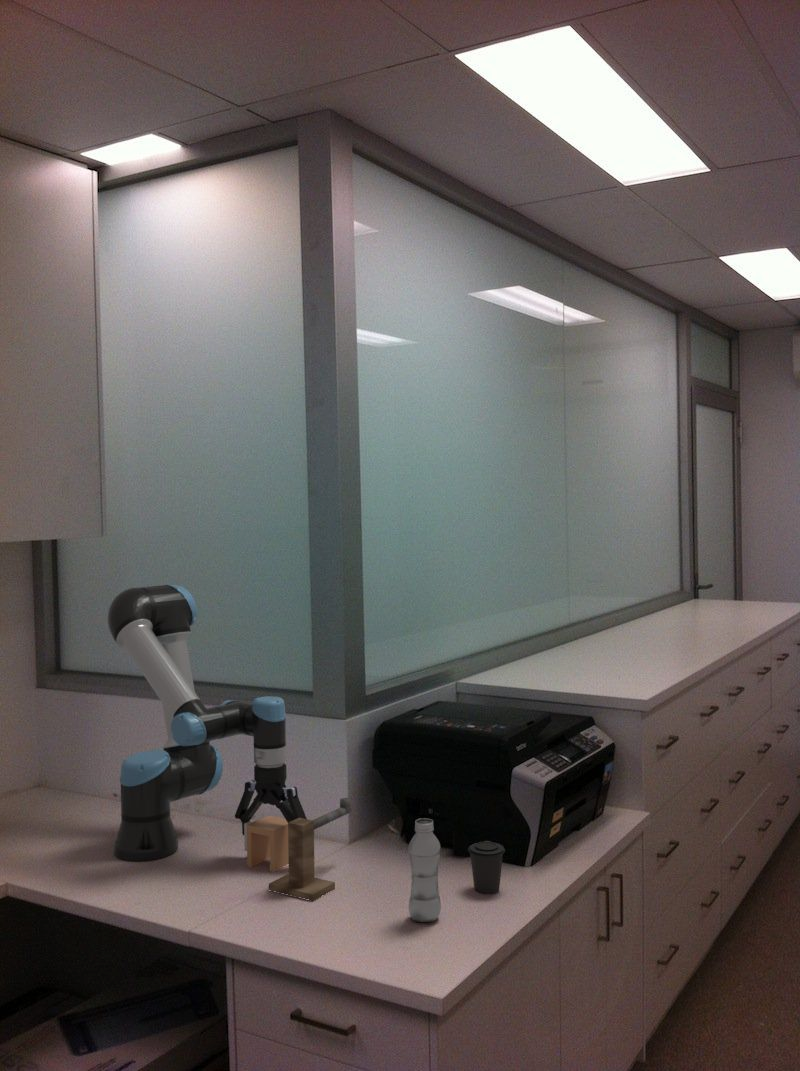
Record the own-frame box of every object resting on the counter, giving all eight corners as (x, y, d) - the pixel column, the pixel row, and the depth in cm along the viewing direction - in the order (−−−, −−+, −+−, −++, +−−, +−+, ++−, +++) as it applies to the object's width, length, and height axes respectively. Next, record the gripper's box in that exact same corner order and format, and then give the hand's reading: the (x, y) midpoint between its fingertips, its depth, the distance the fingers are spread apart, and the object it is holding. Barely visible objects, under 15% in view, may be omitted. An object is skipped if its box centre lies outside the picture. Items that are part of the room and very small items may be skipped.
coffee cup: (495, 880, 221) (494, 836, 221) (512, 893, 214) (511, 847, 213) (462, 886, 218) (461, 841, 218) (478, 899, 211) (477, 852, 210)
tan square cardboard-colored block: (247, 865, 232) (246, 824, 232) (269, 855, 239) (268, 815, 239) (274, 871, 228) (273, 830, 228) (295, 861, 235) (295, 820, 234)
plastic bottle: (401, 919, 201) (400, 821, 200) (425, 909, 206) (424, 814, 205) (424, 929, 196) (423, 828, 196) (448, 918, 201) (447, 820, 200)
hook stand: (268, 890, 217) (267, 820, 216) (327, 859, 236) (327, 794, 235) (313, 901, 210) (312, 829, 210) (370, 868, 229) (369, 801, 229)
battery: (479, 848, 242) (479, 807, 242) (469, 857, 236) (469, 815, 236) (462, 846, 244) (462, 805, 244) (452, 855, 238) (452, 813, 237)
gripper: (218, 761, 236) (220, 850, 237) (303, 774, 223) (305, 868, 224) (239, 754, 242) (241, 840, 243) (322, 766, 229) (324, 857, 230)
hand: (272, 854), depth 233 cm, fingers open, 13 cm apart
